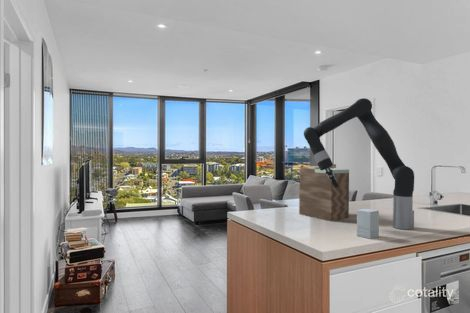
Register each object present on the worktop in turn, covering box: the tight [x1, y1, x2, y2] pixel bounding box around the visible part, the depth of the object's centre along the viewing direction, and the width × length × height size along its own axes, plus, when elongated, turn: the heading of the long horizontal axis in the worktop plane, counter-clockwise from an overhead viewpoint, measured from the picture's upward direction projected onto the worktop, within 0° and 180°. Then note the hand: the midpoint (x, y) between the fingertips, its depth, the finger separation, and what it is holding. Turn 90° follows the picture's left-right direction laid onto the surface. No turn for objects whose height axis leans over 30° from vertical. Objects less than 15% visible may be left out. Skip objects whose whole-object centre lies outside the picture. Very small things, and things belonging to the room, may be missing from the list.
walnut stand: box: [298, 167, 350, 222], centre depth 204 cm, size 16×26×30 cm, turn 33°
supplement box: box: [356, 208, 380, 240], centre depth 154 cm, size 7×7×13 cm
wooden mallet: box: [301, 163, 337, 169], centre depth 212 cm, size 25×11×2 cm, turn 123°
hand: (336, 186), depth 175 cm, fingers open, 8 cm apart
